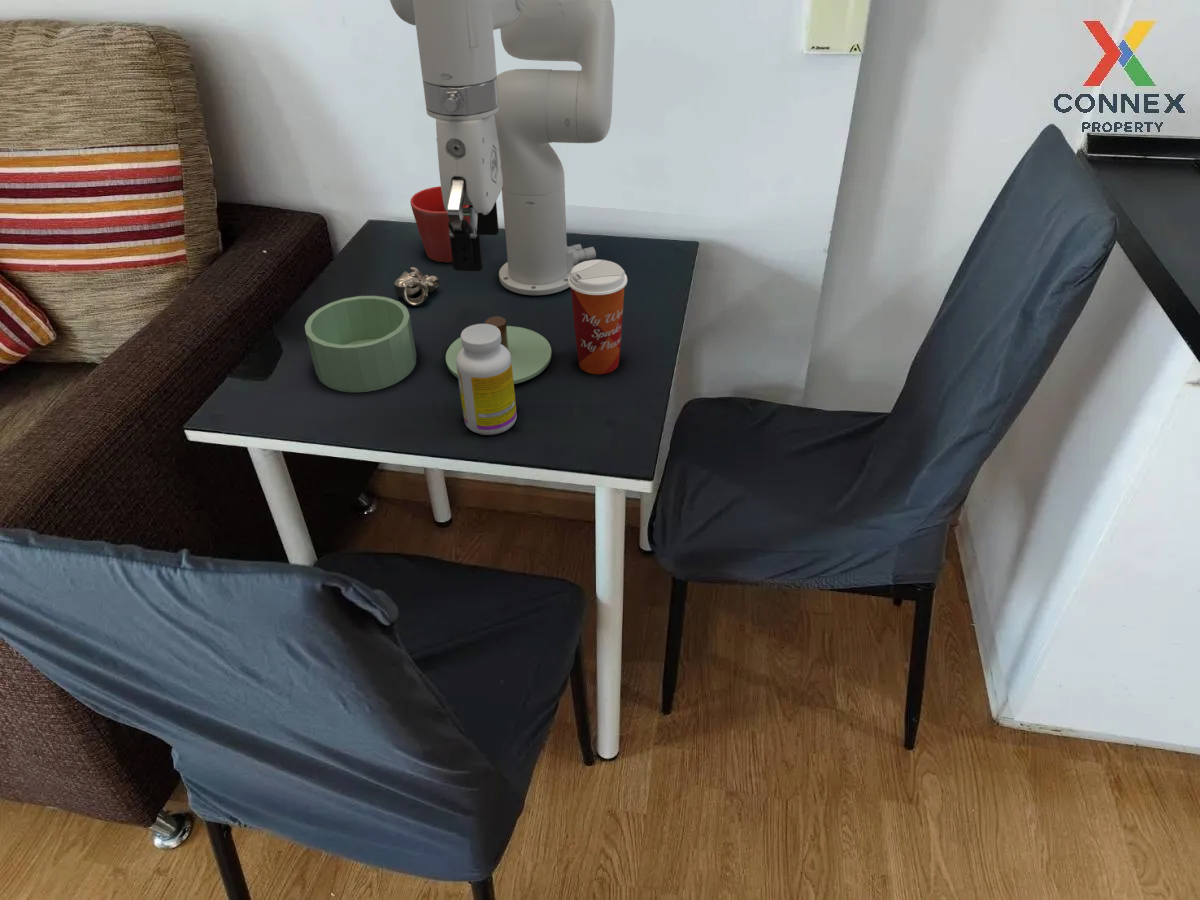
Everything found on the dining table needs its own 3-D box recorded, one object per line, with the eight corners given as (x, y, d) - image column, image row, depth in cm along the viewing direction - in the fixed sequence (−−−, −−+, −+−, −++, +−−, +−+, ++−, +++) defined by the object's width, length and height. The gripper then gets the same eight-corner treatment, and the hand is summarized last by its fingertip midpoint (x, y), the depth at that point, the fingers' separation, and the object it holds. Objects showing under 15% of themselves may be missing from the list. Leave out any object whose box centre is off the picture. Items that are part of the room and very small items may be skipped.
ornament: (445, 303, 132) (442, 282, 130) (400, 311, 131) (397, 289, 128) (435, 280, 138) (432, 259, 136) (392, 287, 137) (389, 266, 134)
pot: (368, 329, 127) (359, 286, 122) (436, 357, 121) (430, 313, 116) (295, 372, 118) (283, 327, 114) (364, 404, 112) (354, 358, 108)
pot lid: (493, 323, 128) (489, 285, 124) (572, 352, 121) (571, 313, 117) (424, 368, 118) (418, 329, 114) (506, 402, 112) (502, 362, 108)
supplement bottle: (528, 419, 109) (521, 331, 101) (490, 444, 105) (479, 355, 97) (491, 399, 112) (482, 313, 104) (453, 423, 109) (440, 335, 100)
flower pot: (492, 243, 149) (487, 189, 142) (464, 271, 141) (457, 215, 134) (437, 235, 151) (430, 181, 145) (406, 262, 143) (397, 206, 137)
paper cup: (586, 384, 115) (584, 290, 106) (561, 357, 120) (557, 265, 111) (637, 369, 118) (639, 276, 109) (611, 343, 123) (610, 252, 114)
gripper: (481, 122, 82) (495, 286, 92) (511, 75, 95) (521, 222, 106) (403, 120, 82) (427, 284, 93) (444, 74, 96) (461, 220, 106)
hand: (477, 251), depth 99 cm, fingers open, 9 cm apart
